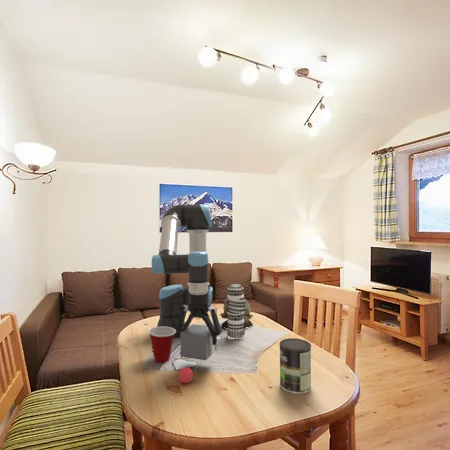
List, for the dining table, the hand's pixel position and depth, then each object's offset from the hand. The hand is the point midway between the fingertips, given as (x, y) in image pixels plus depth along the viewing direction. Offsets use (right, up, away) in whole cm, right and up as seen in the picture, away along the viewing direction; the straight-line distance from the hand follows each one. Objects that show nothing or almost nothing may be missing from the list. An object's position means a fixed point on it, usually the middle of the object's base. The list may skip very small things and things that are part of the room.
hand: (199, 350), depth 119 cm
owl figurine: (+16, -6, +49) cm, 52 cm away
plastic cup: (-15, -7, +7) cm, 18 cm away
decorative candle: (+15, -6, +32) cm, 36 cm away
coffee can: (+33, -6, -15) cm, 37 cm away
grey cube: (0, -1, 0) cm, 1 cm away
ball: (-4, -4, -11) cm, 13 cm away
